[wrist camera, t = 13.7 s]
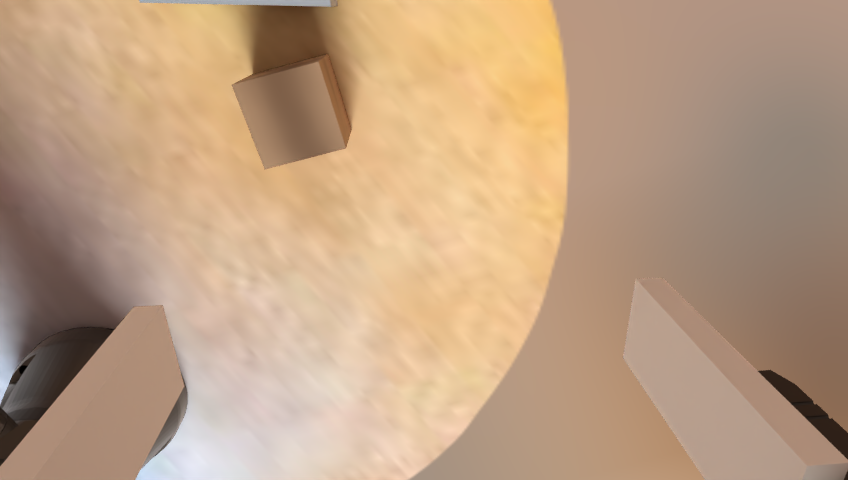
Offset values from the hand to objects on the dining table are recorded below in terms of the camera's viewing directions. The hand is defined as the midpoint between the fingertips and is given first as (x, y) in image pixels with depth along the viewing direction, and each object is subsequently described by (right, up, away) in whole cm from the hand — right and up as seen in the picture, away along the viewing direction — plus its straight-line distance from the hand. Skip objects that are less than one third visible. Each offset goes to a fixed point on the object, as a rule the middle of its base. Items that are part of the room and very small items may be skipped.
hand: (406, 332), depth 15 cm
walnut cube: (-9, +13, +26) cm, 31 cm away
